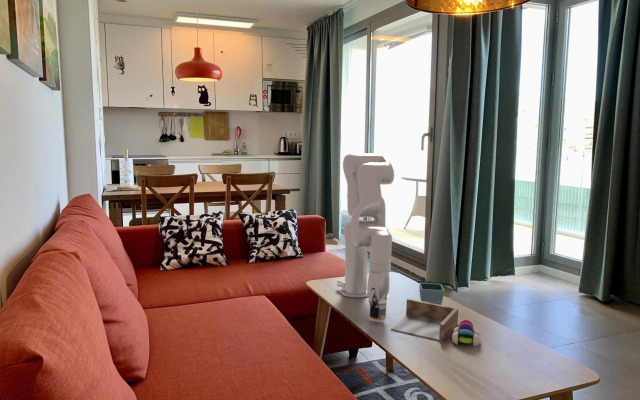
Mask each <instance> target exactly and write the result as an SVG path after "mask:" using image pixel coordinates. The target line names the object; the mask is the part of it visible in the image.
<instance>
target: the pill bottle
mask: <svg viewBox="0 0 640 400" xmlns="http://www.w3.org/2000/svg"><path fill="white" fill-rule="evenodd" d="M374 298H376V299H377V297H375V296H374ZM376 301H377V300H374V302H375V303H376ZM378 307H379V317H378V318H373V317H370V316H369V319H370V320H371V321H373V322H377V323H382V322H384V321H386V315H387V301H386V299H385V294H384V295H383V298H381V299H380V300H379V304H378Z"/></svg>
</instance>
